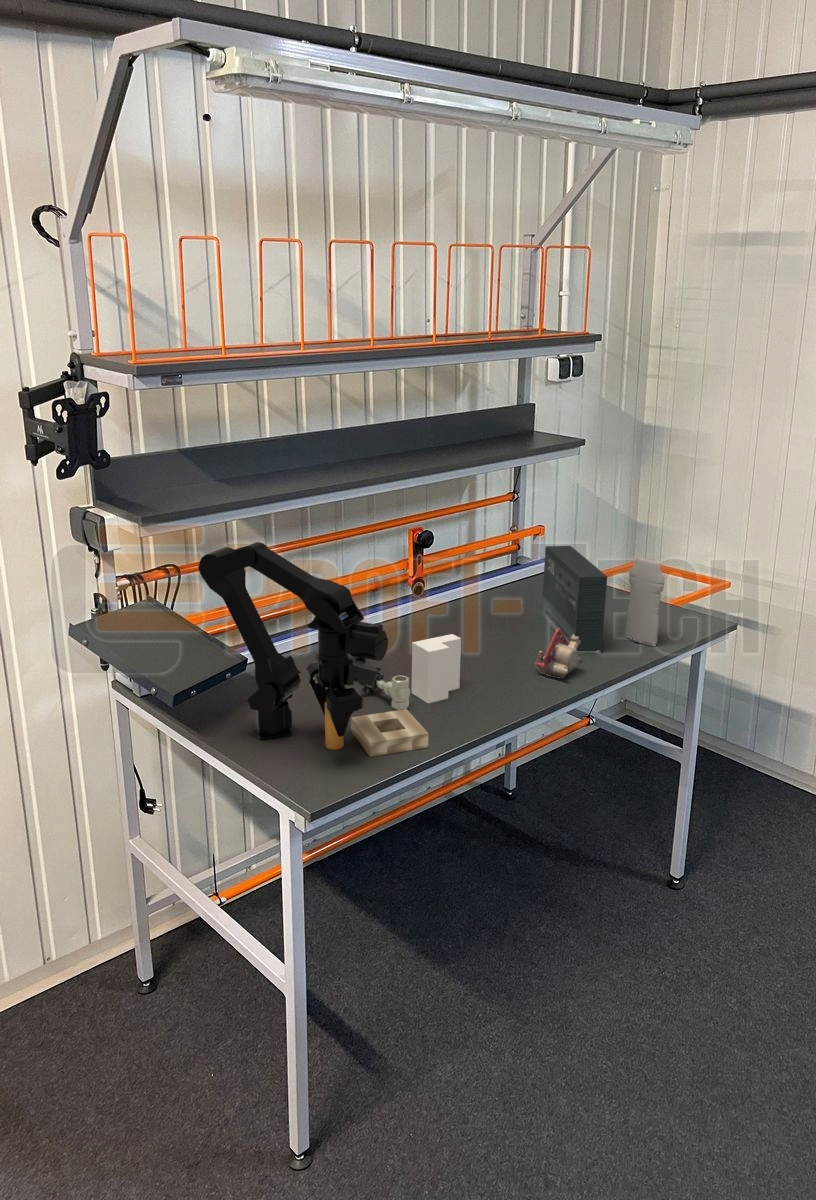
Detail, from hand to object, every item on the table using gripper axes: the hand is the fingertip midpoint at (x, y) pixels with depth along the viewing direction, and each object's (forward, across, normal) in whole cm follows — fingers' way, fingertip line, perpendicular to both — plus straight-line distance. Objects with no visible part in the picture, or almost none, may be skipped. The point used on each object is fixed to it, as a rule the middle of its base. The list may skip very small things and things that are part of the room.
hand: (333, 726), depth 187 cm
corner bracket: (+4, +19, -29) cm, 35 cm away
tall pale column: (+4, +30, -91) cm, 96 cm away
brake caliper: (+4, +18, -60) cm, 63 cm away
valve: (+4, +16, -17) cm, 24 cm away
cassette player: (+4, +41, -77) cm, 87 cm away
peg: (+4, 0, 0) cm, 4 cm away
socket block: (+4, -1, -11) cm, 12 cm away
